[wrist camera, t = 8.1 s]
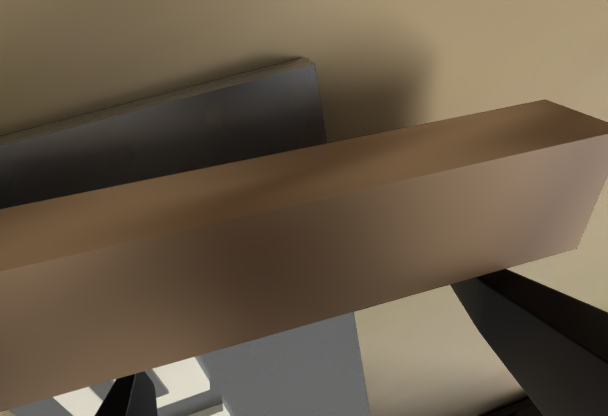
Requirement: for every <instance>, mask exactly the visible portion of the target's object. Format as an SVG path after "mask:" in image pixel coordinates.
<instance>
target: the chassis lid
mask: <svg viewBox="0 0 608 416" xmlns="http://www.w3.org/2000/svg"><path fill="white" fill-rule="evenodd" d="M322 144H327V140H326V133H325V127H324V121H323V114H322V108H321V102H320V96H319V89H318V83H317V77H316V70H315V64H314V63H312V62H311V61H310V60H308V59H307V58H306V57H303V58H299V59H295V60H292V61H288V62H284V63H280V64H276V65H272V66H269V67H265V68H261V69H257V70H253V71H249V72H246V73H242V74H238V75H234V76H230V77H226V78H222V79H219V80H215V81H211V82H207V83H203V84H199V85H196V86H192V87H188V88H184V89H180V90H176V91H173V92H169V93H165V94H161V95H157V96H153V97H149V98H146V99H142V100H138V101H134V102H130V103H126V104H123V105H119V106H115V107H111V108H107V109H103V110H100V111H96V112H92V113H88V114H84V115H80V116H76V117H73V118H69V119H65V120H61V121H57V122H53V123H50V124H46V125H42V126H38V127H34V128H30V129H26V130H23V131H19V132H15V133H11V134H7V135H3V136H0V209H4V208H9V207H14V206H19V205H24V204H29V203H34V202H39V201H44V200H49V199H54V198H59V197H64V196H69V195H74V194H79V193H84V192H88V191H93V190H98V189H103V188H108V187H113V186H118V185H123V184H128V183H133V182H138V181H143V180H148V179H153V178H158V177H163V176H168V175H173V174H178V173H183V172H188V171H193V170H198V169H203V168H208V167H213V166H218V165H223V164H228V163H232V162H237V161H242V160H247V159H252V158H257V157H262V156H267V155H272V154H277V153H282V152H287V151H292V150H297V149H302V148H307V147H312V146H317V145H322ZM195 359H196V360H197V362H198V364H199V365H200V367H201V369H202V370H203V372H204V373H205V375H206V377H207V378H208V380H209V382H210V390H207V391H205V392H202V393H199V394H196V395H193V396H191V397H188V398H185V399H182V400H179V401H177V402H174V403H171V404H168V405H165V406H162V407H160V408H157V413H158V416H188V415H191V414H194V413H196V412H199V411H202V410H205V409H207V408H210V407H213V406H216V405H218V404H221V403H223V404H224V406H225V408H226V409H227V411H228V413H229V414H230V416H370V411H369V405H368V398H367V392H366V386H365V379H364V373H363V367H362V361H361V354H360V348H359V342H358V335H357V329H356V323H355V316H354V312H351V313H347V314H344V315H340V316H337V317H333V318H330V319H326V320H323V321H319V322H316V323H312V324H308V325H305V326H301V327H298V328H294V329H291V330H287V331H284V332H280V333H277V334H273V335H270V336H266V337H263V338H259V339H256V340H252V341H248V342H245V343H241V344H238V345H234V346H231V347H227V348H224V349H220V350H217V351H213V352H210V353H206V354H203V355H199V356H196V357H195ZM9 410H10V411H12V412H13V413H14V414H16V415H17V416H73V415H72V414H71V413H70V412H69V411H68V410H66V409H65V408H64V407H63V406H62V405H61V404H60V403H59V402H57V401H56V400H55V399H54V398H53V397H51V398H47V399H44V400H40V401H37V402H33V403H30V404H26V405H23V406H19V407H16V408H12V409H9Z"/></svg>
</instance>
